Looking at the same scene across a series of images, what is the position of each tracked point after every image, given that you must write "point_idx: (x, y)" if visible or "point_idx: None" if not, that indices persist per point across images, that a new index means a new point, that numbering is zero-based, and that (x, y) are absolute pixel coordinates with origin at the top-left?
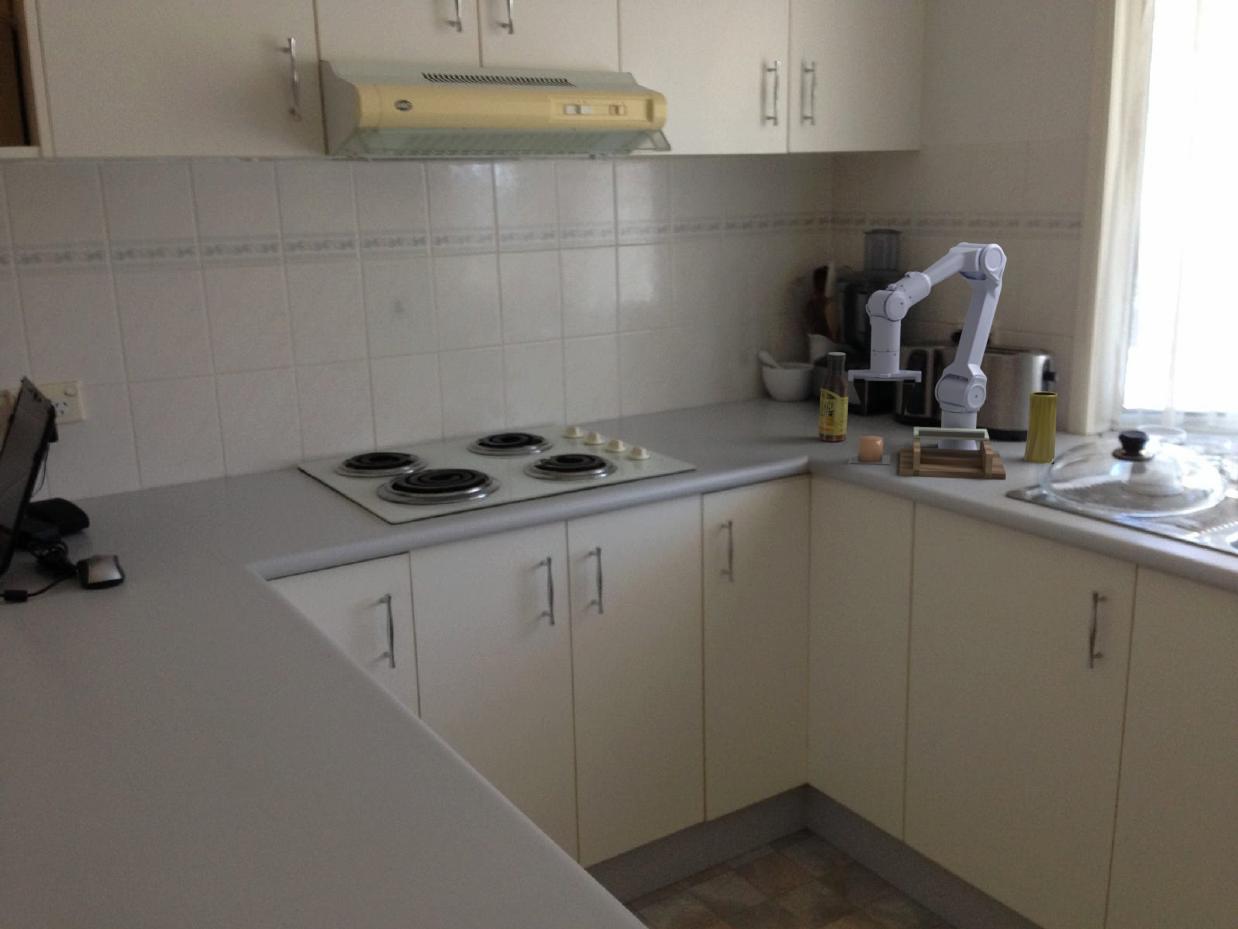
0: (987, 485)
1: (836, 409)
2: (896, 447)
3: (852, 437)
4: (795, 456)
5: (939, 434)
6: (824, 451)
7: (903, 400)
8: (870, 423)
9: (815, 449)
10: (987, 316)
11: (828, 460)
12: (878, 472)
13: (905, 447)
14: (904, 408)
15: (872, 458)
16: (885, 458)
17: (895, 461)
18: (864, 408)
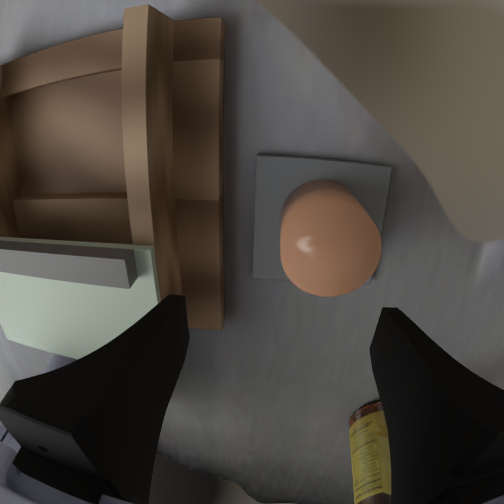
0: (16, 23)
1: (390, 463)
2: (236, 376)
3: (329, 431)
4: (500, 266)
5: (62, 249)
6: (425, 325)
7: (134, 346)
8: (281, 485)
9: (438, 339)
10: None
11: (439, 229)
12: (297, 75)
13: (207, 329)
14: (147, 314)
15: (318, 183)
16: (269, 235)
17: (237, 234)
18: (405, 328)
